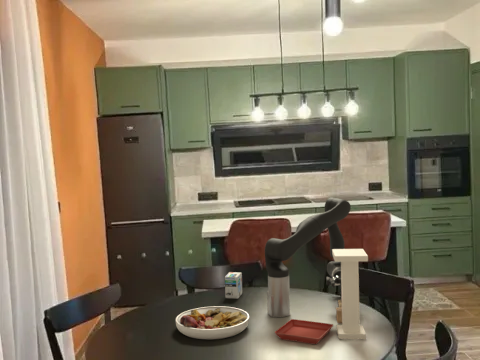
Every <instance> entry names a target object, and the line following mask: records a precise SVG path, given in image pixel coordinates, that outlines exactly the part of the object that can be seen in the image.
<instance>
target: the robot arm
mask: <svg viewBox="0 0 480 360" xmlns="http://www.w3.org/2000/svg"><path fill="white" fill-rule="evenodd" d="M351 209H352V207H351V203H350V202H349V201H348V200H346V199H342V198H338V197H328V198H327V199H326V201H325V203H324V212H320V213H316V214H312V215H309V216H308V217H305V219H304V220H302V221H301V222H299V223H298V225H297V226H296V230H295V232H294V233H293V234H292V235H291V236H288V238H284V239H281V238H277V237H276V238H275V237H271V238H269V239H268V240H267V241H266V243H265V246H264V259H265V269H266V271H267V289H268V290H267V292H266V299H267V300H266V301H267V303H266V304H267V305H266V307H267V314H268V315H269V316H270V318H271V317H272V318H284V317H288V316H290V314H291V307H290V306H291V305H290V303H291V301H290V300H291V299H290V270H289V268H288V267H287V266H286V265H284V263H283V262H285V261H287V260H290V258H292V257H293V256H294V255H295V254H296V253H297V252H298V251H299V250H300V249H301V248H303V246H305V245H306V244H308V243H309V242H310V241H312V240H313V239H315V238H316V237H318V235H320V234H322V233H323V232H324V231H325V230H327V229H328V236H329V255H330V257H331V258H333V255H332V249H346V248H345V240H344V236H343V234H342V232H341V229H340V227H339V225H338V222H340V221H342V220H343V219H345V218H346V217H348V215H349V214H350V211H351ZM326 272H327V274H328V275H329V276H330V277H329V276H326V286H331V287H332V288H335V286H338V287H341V262H335V260H333V261H329V262H328V263H327V264H326ZM331 277H332V278H331Z"/></svg>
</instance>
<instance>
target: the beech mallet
mask: <svg viewBox="0 0 480 360" xmlns="http://www.w3.org/2000/svg"><path fill="white" fill-rule="evenodd" d="M337 300H338V301H337V302H338V307H335V312H336V313H335V317H336V323H337V324H342V299H337Z"/></svg>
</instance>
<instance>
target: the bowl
mask: <svg viewBox="0 0 480 360" xmlns="http://www.w3.org/2000/svg"><path fill="white" fill-rule="evenodd" d="M249 323H250V315H249V313H248V312H247V311H246V310H244V309H241V308H236V307H233V306H232V307H231V306H225V305H224V306H215V305H213V306H204V307H203V306H202V307H198V308H192V309H189V310H185V311H183V312H181V313H180V314H178V315H177V316H176V317H175V326H176V328H177V330H178V331H179V332H180V333H181V334H183V335H185V336H187V337H189V338H192V339H197V340H198V339H199V340H219V339H220V340H221V339H225V338H230V337H233V336H236V335H238V334H241V332H243V331H244V330H245V329H247V327H248V326H249Z"/></svg>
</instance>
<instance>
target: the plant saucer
mask: <svg viewBox="0 0 480 360" xmlns="http://www.w3.org/2000/svg"><path fill="white" fill-rule="evenodd" d="M333 327H334V324H333V323H325V322H319V321H312V320H310V321H309V320H302V319H296V318H295V319H294V318H291V319H290V320H288V321H287V322H286V323H284V324H283V325H282V326H280V327H279V328H278V329H277V330H275V331H274V334H275V335H276V336H277V337H278V338H279V339H280V340H284V341H285V340H286V341H292V342H299V343H303V344H304V343H305V344H312V345H318V343H319V342H320V341H321V340H323V338H325V336H326V335H327V334H328V333H329V332H331V330H332V329H333Z"/></svg>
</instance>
